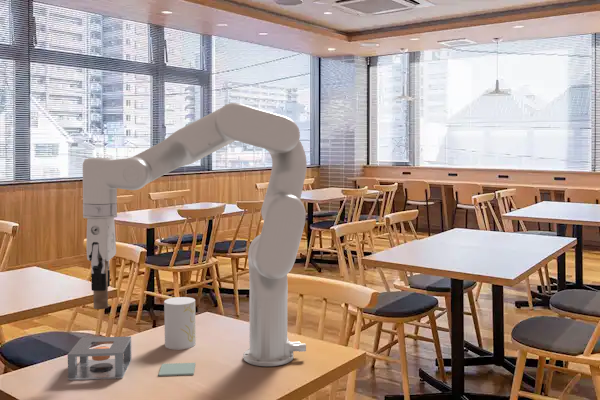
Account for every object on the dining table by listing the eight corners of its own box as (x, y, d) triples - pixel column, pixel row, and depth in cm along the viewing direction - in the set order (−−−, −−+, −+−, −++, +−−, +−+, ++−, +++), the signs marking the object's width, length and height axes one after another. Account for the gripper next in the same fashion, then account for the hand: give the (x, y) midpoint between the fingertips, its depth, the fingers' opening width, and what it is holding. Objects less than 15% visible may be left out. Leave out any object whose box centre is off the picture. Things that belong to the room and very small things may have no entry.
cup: (188, 350, 156) (188, 305, 155) (159, 348, 157) (159, 303, 156) (200, 340, 163) (199, 297, 162) (172, 338, 165) (171, 296, 164)
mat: (195, 364, 146) (195, 362, 146) (193, 374, 139) (193, 373, 139) (162, 365, 145) (162, 363, 145) (158, 376, 138) (158, 374, 138)
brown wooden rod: (109, 305, 142) (108, 251, 141) (106, 309, 139) (105, 254, 138) (95, 305, 142) (94, 251, 141) (92, 309, 139) (91, 254, 138)
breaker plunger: (111, 354, 144) (111, 346, 143) (107, 360, 140) (107, 351, 139) (94, 355, 143) (94, 346, 143) (90, 361, 139) (90, 352, 139)
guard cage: (131, 360, 148) (131, 336, 148) (122, 378, 136) (122, 352, 136) (81, 361, 147) (81, 337, 146) (68, 380, 135) (67, 354, 135)
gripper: (109, 214, 131) (109, 296, 133) (123, 207, 147) (123, 281, 149) (73, 214, 130) (74, 297, 132) (92, 207, 147) (92, 281, 148)
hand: (100, 287), depth 140 cm, fingers closed on brown wooden rod, 3 cm apart
